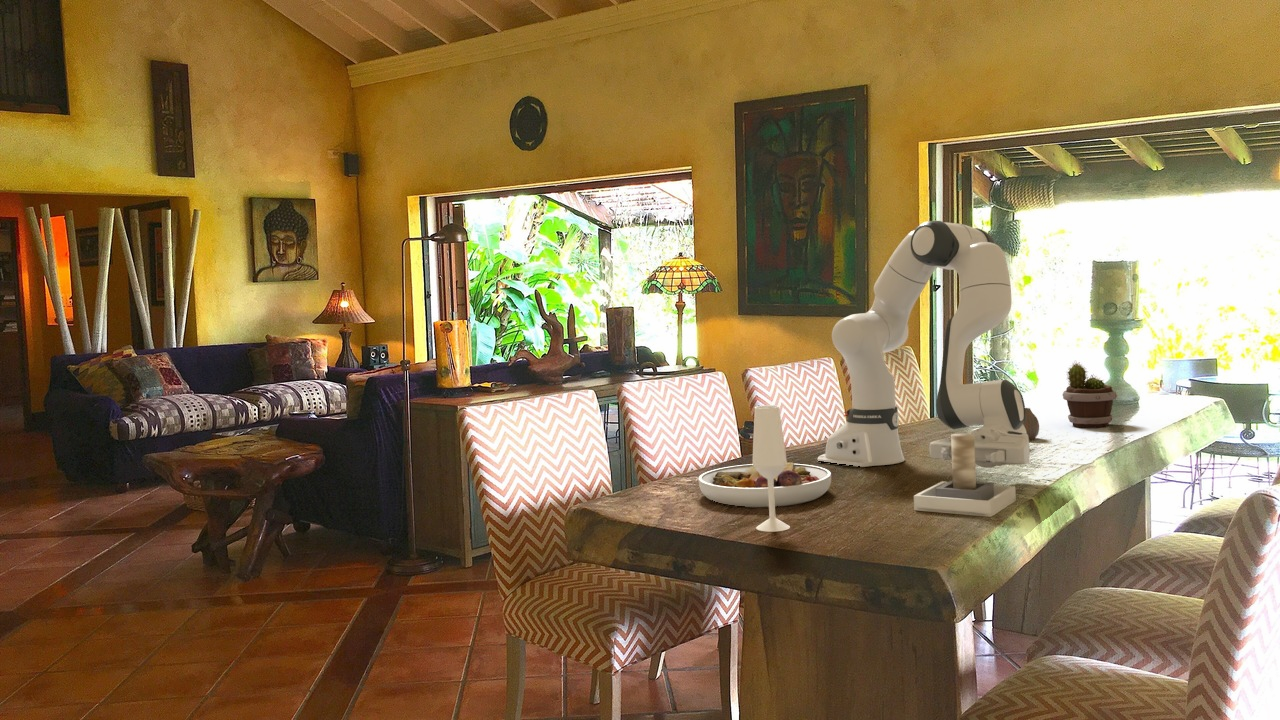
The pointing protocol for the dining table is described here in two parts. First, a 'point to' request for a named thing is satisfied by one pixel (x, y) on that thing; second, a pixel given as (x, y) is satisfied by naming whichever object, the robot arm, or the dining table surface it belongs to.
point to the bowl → (764, 485)
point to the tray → (965, 499)
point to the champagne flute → (769, 457)
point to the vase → (1031, 424)
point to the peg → (963, 461)
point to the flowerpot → (1088, 399)
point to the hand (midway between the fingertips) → (966, 457)
